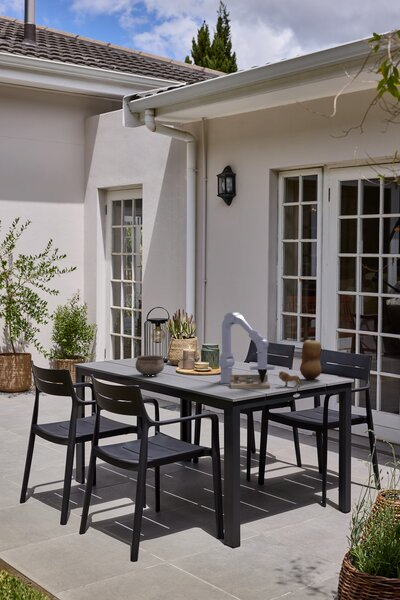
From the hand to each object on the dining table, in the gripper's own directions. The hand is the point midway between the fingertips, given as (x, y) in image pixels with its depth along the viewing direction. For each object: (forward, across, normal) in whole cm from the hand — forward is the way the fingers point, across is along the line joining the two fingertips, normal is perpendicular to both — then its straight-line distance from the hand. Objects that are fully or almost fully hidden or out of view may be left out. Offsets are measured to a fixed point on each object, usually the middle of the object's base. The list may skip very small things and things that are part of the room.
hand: (262, 381), depth 476 cm
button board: (+3, -8, 0) cm, 8 cm away
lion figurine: (+3, +17, -1) cm, 17 cm away
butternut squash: (+3, +34, +25) cm, 42 cm away
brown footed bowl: (+3, -68, +44) cm, 81 cm away
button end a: (+2, -15, 0) cm, 15 cm away
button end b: (+2, 0, 0) cm, 2 cm away
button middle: (+1, -7, 0) cm, 8 cm away
